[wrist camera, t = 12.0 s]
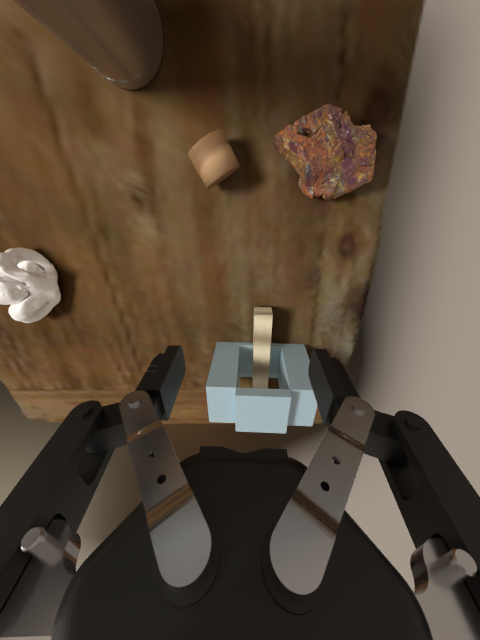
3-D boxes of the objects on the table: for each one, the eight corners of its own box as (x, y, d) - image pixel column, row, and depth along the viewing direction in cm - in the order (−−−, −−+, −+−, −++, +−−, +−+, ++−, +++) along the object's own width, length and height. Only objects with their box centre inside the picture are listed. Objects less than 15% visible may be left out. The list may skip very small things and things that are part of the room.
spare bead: (193, 159, 30) (183, 152, 26) (225, 135, 29) (220, 123, 24) (210, 189, 31) (203, 187, 27) (240, 167, 30) (238, 162, 26)
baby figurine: (48, 320, 44) (-21, 325, 36) (44, 255, 43) (-28, 245, 35) (69, 325, 39) (-5, 330, 32) (65, 251, 38) (-13, 239, 30)
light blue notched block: (217, 341, 44) (204, 394, 32) (303, 344, 43) (323, 398, 31) (218, 372, 48) (207, 430, 36) (298, 375, 47) (314, 434, 35)
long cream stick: (254, 307, 39) (254, 314, 36) (271, 307, 39) (272, 315, 36) (252, 397, 49) (252, 408, 46) (265, 397, 49) (266, 408, 46)
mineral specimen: (279, 213, 31) (281, 180, 24) (272, 161, 32) (272, 116, 25) (369, 196, 30) (399, 156, 23) (361, 142, 30) (386, 87, 23)
